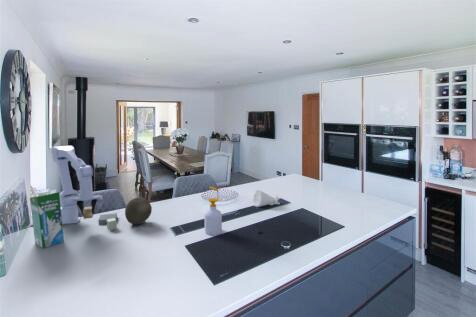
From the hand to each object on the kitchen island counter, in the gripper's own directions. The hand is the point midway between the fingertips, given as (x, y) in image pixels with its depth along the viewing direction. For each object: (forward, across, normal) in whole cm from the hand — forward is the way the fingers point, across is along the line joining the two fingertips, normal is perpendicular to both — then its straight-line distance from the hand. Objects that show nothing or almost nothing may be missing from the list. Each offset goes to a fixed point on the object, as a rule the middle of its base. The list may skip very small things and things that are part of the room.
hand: (88, 213), depth 144 cm
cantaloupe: (+10, +25, +1) cm, 27 cm away
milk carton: (+10, -16, -9) cm, 21 cm away
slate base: (+9, +8, +12) cm, 17 cm away
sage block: (+9, +11, -1) cm, 15 cm away
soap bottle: (+10, +62, -24) cm, 67 cm away
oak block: (+2, 0, 0) cm, 2 cm away
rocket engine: (+10, +109, +6) cm, 110 cm away
